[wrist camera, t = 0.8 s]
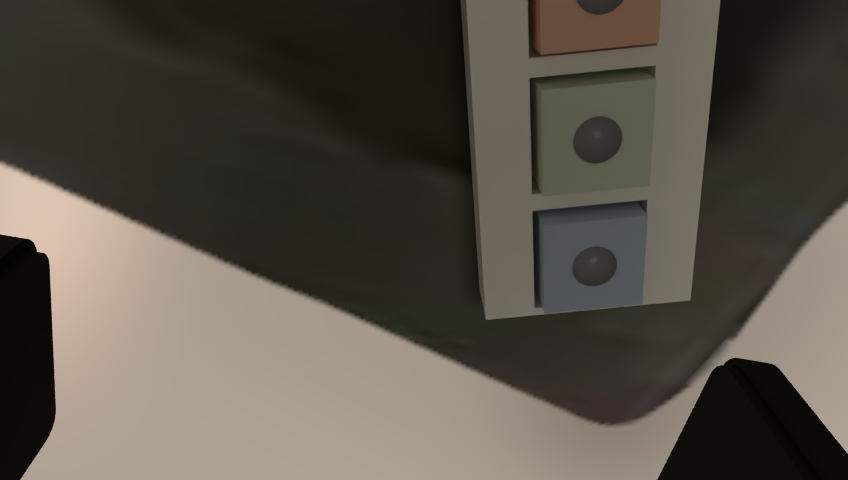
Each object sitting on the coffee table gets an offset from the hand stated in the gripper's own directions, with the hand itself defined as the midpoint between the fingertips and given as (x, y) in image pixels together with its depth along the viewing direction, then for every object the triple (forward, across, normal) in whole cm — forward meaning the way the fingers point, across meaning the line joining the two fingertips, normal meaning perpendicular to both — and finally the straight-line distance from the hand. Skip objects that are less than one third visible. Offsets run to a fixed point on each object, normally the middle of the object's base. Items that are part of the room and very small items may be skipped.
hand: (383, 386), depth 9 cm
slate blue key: (+21, -10, +7) cm, 24 cm away
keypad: (+23, -9, +1) cm, 24 cm away
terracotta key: (+21, -7, -5) cm, 23 cm away
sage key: (+21, -9, +1) cm, 23 cm away
